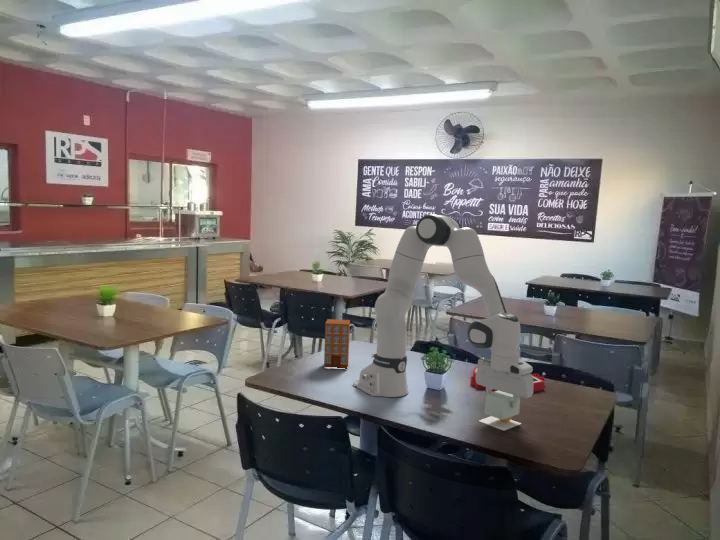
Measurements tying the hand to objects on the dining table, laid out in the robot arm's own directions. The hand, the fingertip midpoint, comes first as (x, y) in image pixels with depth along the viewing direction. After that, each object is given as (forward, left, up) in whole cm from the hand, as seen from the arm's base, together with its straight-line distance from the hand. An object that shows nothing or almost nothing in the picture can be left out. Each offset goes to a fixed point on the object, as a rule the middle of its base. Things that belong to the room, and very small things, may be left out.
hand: (502, 403), depth 185 cm
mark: (0, 0, -6) cm, 6 cm away
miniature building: (-81, -4, -7) cm, 82 cm away
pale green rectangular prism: (0, 0, -3) cm, 3 cm away
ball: (0, +2, -4) cm, 4 cm away
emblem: (-26, +40, -7) cm, 48 cm away
